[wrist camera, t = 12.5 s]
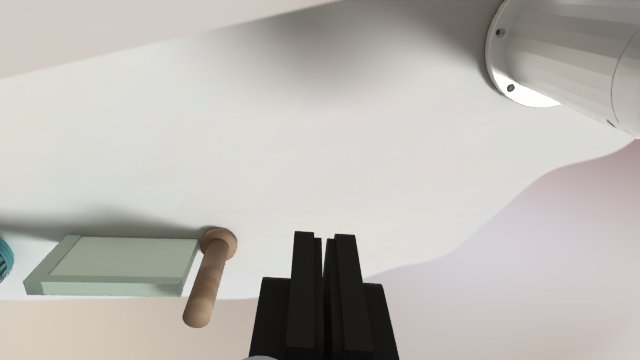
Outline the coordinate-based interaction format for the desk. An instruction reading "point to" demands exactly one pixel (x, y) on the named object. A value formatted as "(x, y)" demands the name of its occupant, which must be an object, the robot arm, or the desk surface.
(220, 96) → the desk surface
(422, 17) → the desk surface
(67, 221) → the desk surface
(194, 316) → the brown turned wooden spindle
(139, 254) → the panel
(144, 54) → the desk surface
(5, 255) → the beverage bottle
